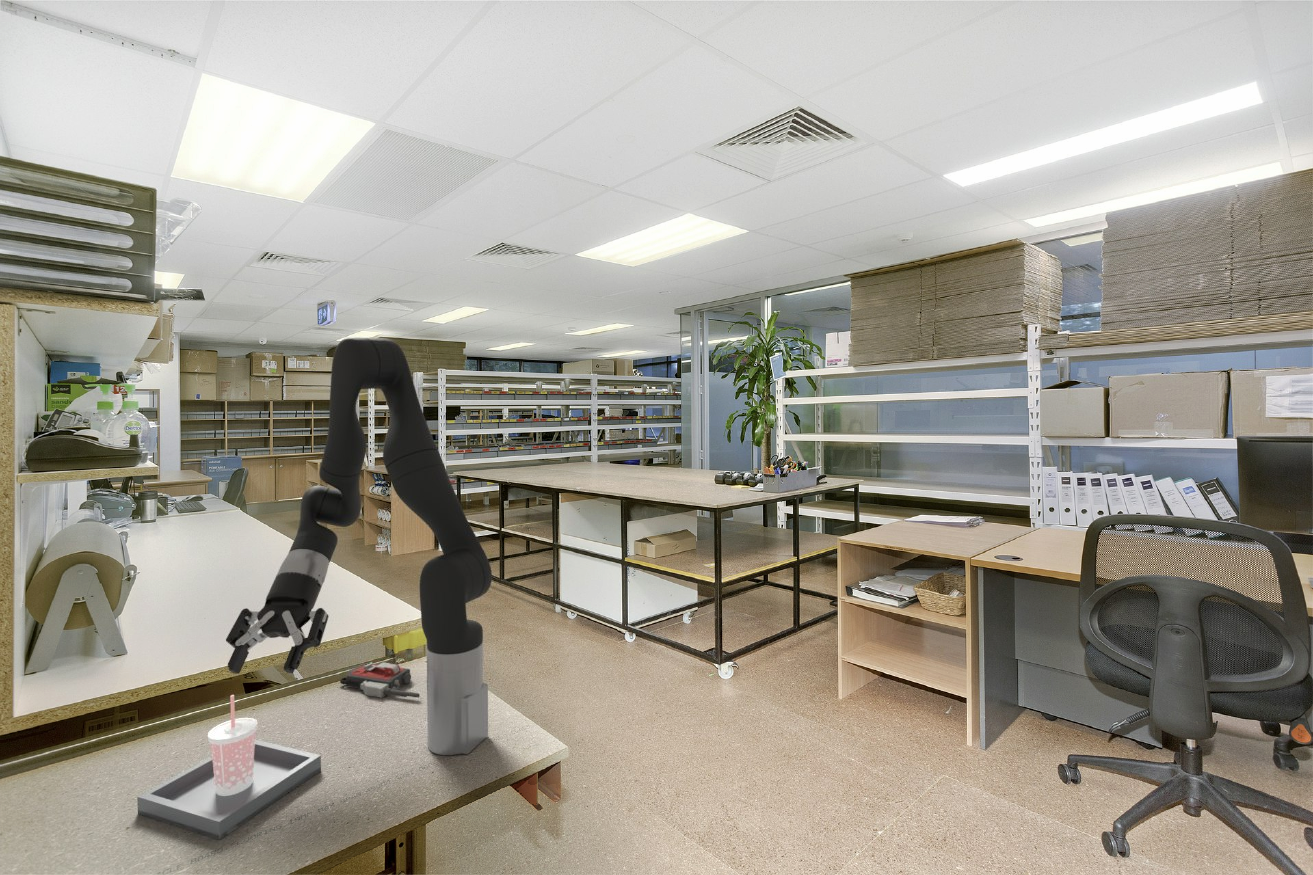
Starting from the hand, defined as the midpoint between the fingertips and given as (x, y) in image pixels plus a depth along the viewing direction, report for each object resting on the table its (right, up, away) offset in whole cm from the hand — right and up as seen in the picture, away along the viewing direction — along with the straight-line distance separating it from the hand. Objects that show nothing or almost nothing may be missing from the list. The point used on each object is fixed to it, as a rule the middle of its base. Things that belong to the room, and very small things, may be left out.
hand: (260, 671), depth 94 cm
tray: (0, -16, -6) cm, 17 cm away
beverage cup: (0, -15, -6) cm, 16 cm away
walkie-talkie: (+8, -15, +28) cm, 32 cm away
